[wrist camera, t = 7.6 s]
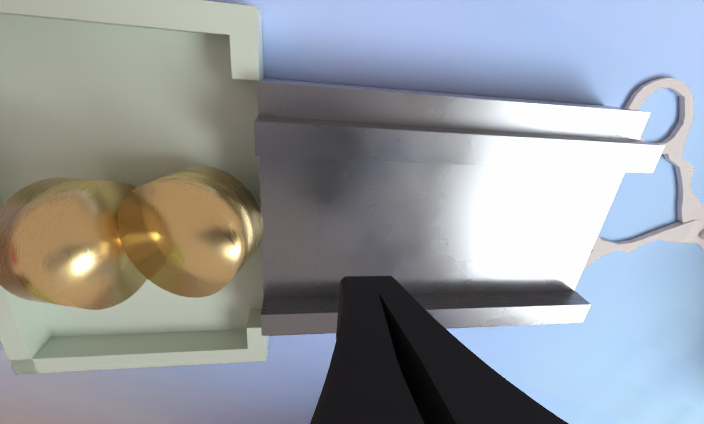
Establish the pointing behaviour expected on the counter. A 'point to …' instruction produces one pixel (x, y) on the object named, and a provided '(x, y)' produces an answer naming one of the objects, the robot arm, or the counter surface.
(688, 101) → the scissors
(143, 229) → the brass disc
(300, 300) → the slot block
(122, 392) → the counter surface
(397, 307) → the robot arm
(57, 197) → the brass disc
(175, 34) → the tray
